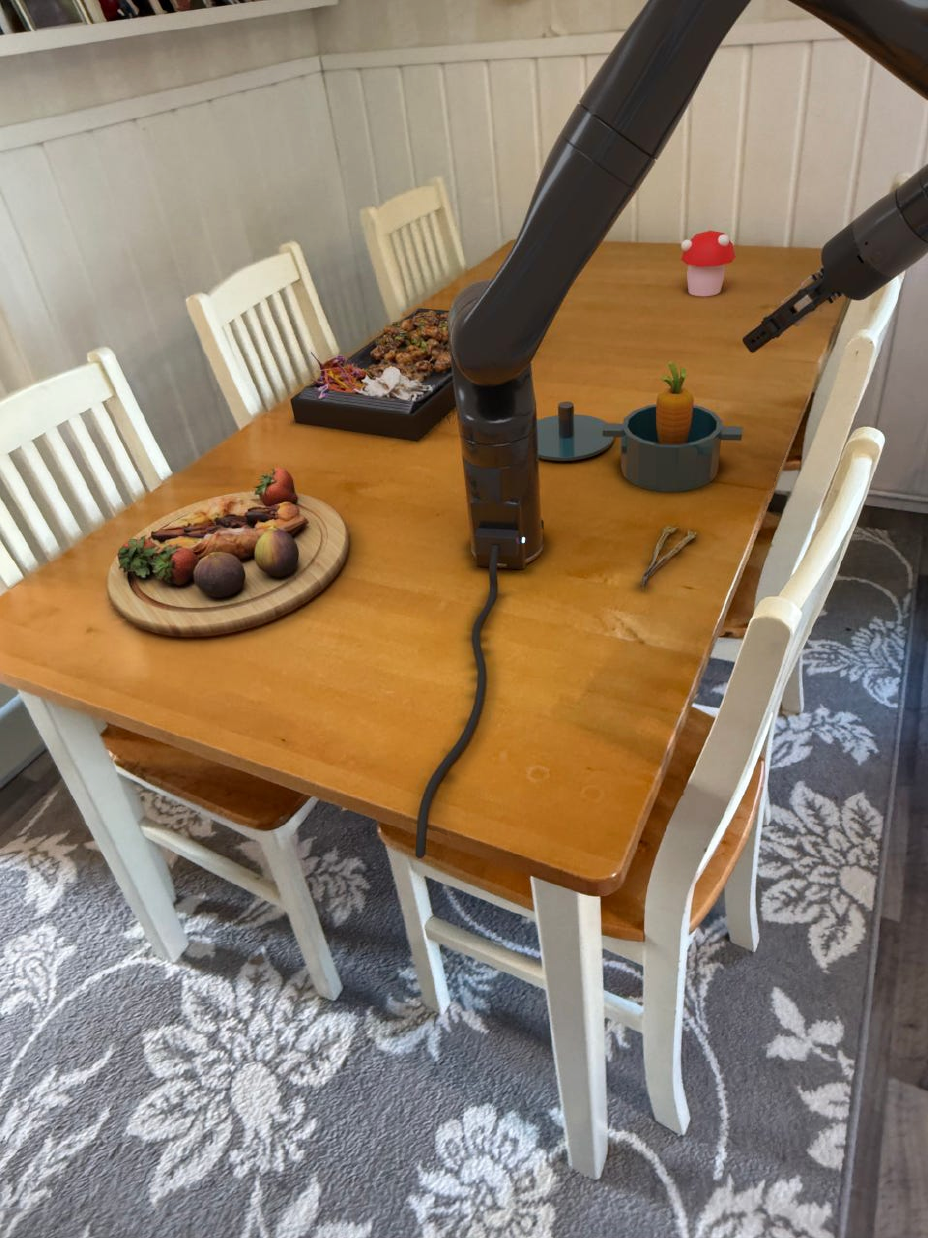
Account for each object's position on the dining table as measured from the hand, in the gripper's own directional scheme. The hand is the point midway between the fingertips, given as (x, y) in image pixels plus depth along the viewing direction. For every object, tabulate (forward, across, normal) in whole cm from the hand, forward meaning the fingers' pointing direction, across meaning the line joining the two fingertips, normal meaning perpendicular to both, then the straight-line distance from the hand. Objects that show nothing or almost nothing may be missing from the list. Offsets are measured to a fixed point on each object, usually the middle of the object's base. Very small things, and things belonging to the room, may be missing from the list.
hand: (763, 333), depth 104 cm
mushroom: (+46, -70, -15) cm, 85 cm away
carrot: (+23, 0, +7) cm, 24 cm away
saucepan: (+24, 0, +7) cm, 25 cm away
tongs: (+16, +20, +15) cm, 30 cm away
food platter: (+63, -6, -32) cm, 71 cm away
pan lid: (+36, +1, -6) cm, 36 cm away
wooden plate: (+49, +52, -18) cm, 74 cm away
